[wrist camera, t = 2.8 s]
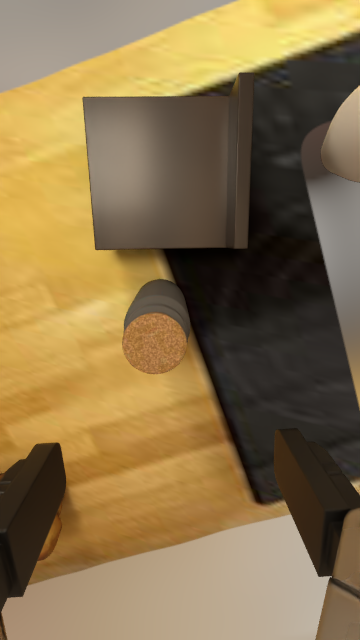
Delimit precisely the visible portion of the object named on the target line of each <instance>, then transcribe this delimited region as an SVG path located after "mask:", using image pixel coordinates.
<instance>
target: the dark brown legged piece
mask: <svg viewBox="0 0 360 640" xmlns="http://www.w3.org/2000/svg"><path fill="white" fill-rule="evenodd" d="M253 95H254V73H239V74H238V77H237V79H236V81H235V84H234V86H233V89H232V91H231V93H230V96H181V97H83V108H84V120H85V132H86V144H87V156H88V167H89V179H90V191H91V203H92V215H93V226H94V238H95V249H96V250H125V249H180V248H232V249H247V248H248V226H249V199H250V173H251V147H252V121H253Z"/></svg>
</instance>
